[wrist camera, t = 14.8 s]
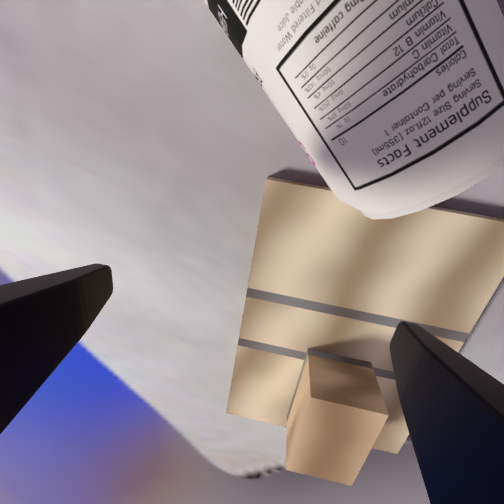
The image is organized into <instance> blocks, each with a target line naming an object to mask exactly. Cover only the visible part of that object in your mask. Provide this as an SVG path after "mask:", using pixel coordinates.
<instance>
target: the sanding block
mask: <svg viewBox="0 0 504 504" xmlns="http://www.w3.org/2000/svg"><path fill="white" fill-rule="evenodd" d="M388 416H389V414H388V411H387V408H386V405H385V402H384V399H383V396H382V393H381V390H380V387H379V384H378V381H377V378H376V375H375V372H374V370H373V367H372V364H371V362H368V361H363V360H359V359H354V358H349V357H345V356H340V355H336V354H331V353H326V352H322V351H317V350H313V349H307V352H306V355H305V359H304V362H303V365H302V368H301V372H300V375H299V378H298V381H297V385H296V388H295V391H294V395H293V398H292V401H291V404H290V408H289V411H288V414H287V443H286V470H289V471H294V472H298V473H302V474H306V475H310V476H314V477H318V478H322V479H326V480H330V481H334V482H338V483H342V484H346V485H350V486H352V484H353V482H354V480H355V478H356V476H357V475H358V473H359V471H360V469H361V467H362V465H363V463H364V461H365V460H366V458H367V455H368V454H369V452H370V450H371V448H372V446H373V444H374V443H375V441H376V439H377V437H378V435H379V433H380V431H381V429H382V428H383V426H384V424H385V422H386V420H387V418H388Z"/></svg>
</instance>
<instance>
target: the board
mask: <svg viewBox="0 0 504 504" xmlns="http://www.w3.org/2000/svg"><path fill="white" fill-rule="evenodd" d="M503 277H504V219H502V218H497V217H491V216H486V215H480V214H474V213H469V212H463V211H458V210H452V209H447V208H441V207H435V206H431V207H428V208H426V209H423V210H421V211H418V212H414V213H411V214H407V215H403V216H400V217H396V218H392V219H374V220H373V219H371V218H368V217H366V216H364V215H363V214H362V212H361V211H360V210H358V209H356V208H354V207H352V206H350V205H348V204H346V203H344V202H342V201H340V200H338V199H337V198H336V196H335V195H334V193H333V192H332V190H331V189H330V188H329V187H324V186H318V185H313V184H307V183H301V182H296V181H290V180H285V179H279V178H274V177H267V179H266V184H265V190H264V195H263V201H262V207H261V213H260V219H259V225H258V230H257V236H256V242H255V248H254V254H253V260H252V266H251V271H250V277H249V283H248V289H247V295H246V301H245V307H244V312H243V318H242V324H241V330H240V336H239V342H238V347H237V353H236V359H235V365H234V371H233V377H232V383H231V388H230V394H229V400H228V406H227V412H226V413H228V414H232V415H236V416H240V417H244V418H249V419H253V420H257V421H261V422H265V423H270V424H274V425H278V426H282V427H286V428H287V414H288V411H289V408H290V404H291V401H292V398H293V395H294V391H295V388H296V385H297V381H298V378H299V375H300V372H301V368H302V365H303V362H304V359H305V355H306V352H307V349H313V350H317V351H322V352H326V353H331V354H336V355H340V356H345V357H349V358H354V359H359V360H363V361H368V362H371V364H372V367H373V370H374V372H375V375H376V378H377V381H378V384H379V387H380V390H381V393H382V396H383V399H384V402H385V405H386V408H387V411H388V414H389V416H388V418H387V420H386V422H385V424H384V426H383V428H382V429H381V431H380V433H379V435H378V437H377V439H376V441H375V443H374V444H373V446H372V448H375V449H379V450H383V451H388V452H392V453H396V454H397V453H398V452H399V450H400V449H401V447H402V445H403V444H404V442H405V440H406V439H407V437H408V435H409V431H408V428H407V425H406V421H405V418H404V415H403V411H402V408H401V404H400V401H399V397H398V392H397V387H396V382H395V376H394V371H393V366H392V360H391V355H390V348H389V347H390V342H391V339H392V337H393V334H394V332H395V330H396V327H397V325H398V323H399V322H401V321H407V322H413V323H416V324H418V325H419V326H421V327H422V328H424V329H425V330H426V331H428V332H429V333H431V334H432V335H434V336H435V337H436V338H438V339H439V340H441V341H442V342H444V343H445V344H446V345H448V346H449V347H451V348H452V349H454V350H455V351H456V352H459V350H460V348H461V347H462V345H463V343H464V342H465V340H466V338H467V337H468V335H469V333H470V332H471V330H472V328H473V327H474V325H475V323H476V322H477V320H478V318H479V317H480V315H481V313H482V312H483V310H484V308H485V307H486V305H487V303H488V302H489V300H490V298H491V297H492V295H493V293H494V292H495V290H496V288H497V287H498V285H499V283H500V282H501V280H502V278H503Z"/></svg>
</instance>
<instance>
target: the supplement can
mask: <svg viewBox="0 0 504 504" xmlns="http://www.w3.org/2000/svg"><path fill="white" fill-rule="evenodd" d="M204 2H205V3H206V4H207V6H208V7H209V9H210V10H211V12H212V13H213V15H214V16H215V18H216V19H217V21H218V22H219V24H220V25H221V27H222V28H223V30H224V31H225V33H226V34H227V36H228V37H229V39H230V40H231V42H232V43H233V45H234V46H235V48H236V49H237V51H238V52H239V54H240V55H241V57H242V58H243V60H244V61H245V63H246V64H247V65H248V67H249V68H250V70H251V71H252V73H253V74H254V76H255V77H256V79H257V80H258V82H259V83H260V85H261V86H262V88H263V89H264V91H265V92H266V94H267V95H268V97H269V98H270V100H271V101H272V103H273V104H274V106H275V107H276V109H277V110H278V112H279V113H280V115H281V116H282V118H283V119H284V121H285V122H286V124H287V125H288V126H289V128H290V129H291V131H292V132H293V134H294V135H295V137H296V138H297V140H298V141H299V143H300V144H301V146H302V147H303V149H304V150H305V152H306V153H307V155H308V156H309V158H310V159H311V161H312V162H313V164H314V165H315V167H316V168H317V170H318V171H319V173H320V174H321V176H322V177H323V179H324V180H325V182H326V183H327V185H328V186H329V187H330V189H331V190H332V192H333V193H334V195H335V196H336V198H337V199H338V200H340V201H342V202H344V203H346V204H348V205H350V206H352V207H354V208H356V209H358V210H360V211H361V212H362V214H363V215H364V216H366V217H368V218H371V219H373V220H374V219H392V218H396V217H400V216H403V215H407V214H411V213H414V212H418V211H421V210H423V209H426V208H428V207H431V206H433V205H435V204H438V203H440V202H442V201H445V200H447V199H449V198H452V197H454V196H456V195H458V194H459V193H461V192H463V191H465V190H466V189H468V188H470V187H472V186H473V185H475V184H477V183H478V182H480V181H482V180H484V179H485V178H487V177H489V176H490V175H491V174H493V173H494V172H495V171H496V170H498V169H499V168H500V167H501V166H503V165H504V17H503V14H502V12H501V10H500V7H499V5H498V2H497V0H204Z"/></svg>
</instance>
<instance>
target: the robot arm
mask: <svg viewBox="0 0 504 504" xmlns="http://www.w3.org/2000/svg"><path fill="white" fill-rule="evenodd" d="M112 292H113V282H112V271H111V268H110V267H109V266H107V265H103V264H92V265H87V266H83V267H79V268H74V269H70V270H65V271H61V272H56V273H52V274H48V275H43V276H39V277H34V278H30V279H26V280H21V281H17V282H12V283H8V284H3V285H0V434H1V433H2V432H3V430H4V429H5V428H6V427H7V426H8V425H9V423H10V422H11V421H12V420H13V419H14V417H15V416H16V415H17V414H18V413H19V411H20V410H21V409H22V408H23V407H24V406H25V404H26V403H27V402H28V401H29V400H30V398H31V397H32V396H33V395H34V394H35V392H36V391H37V390H38V389H39V388H40V386H41V385H42V384H43V383H44V382H45V380H46V379H47V378H48V377H49V376H50V375H51V373H52V372H53V371H54V370H55V369H56V367H57V366H58V365H59V364H60V363H61V361H62V360H63V359H64V358H65V357H66V355H67V354H68V353H69V352H70V351H71V350H72V348H73V347H74V346H75V345H76V344H77V343H78V341H79V340H80V339H81V338H82V336H83V335H84V334H85V333H86V331H87V330H88V328H89V327H90V326H91V324H92V323H93V321H94V320H95V318H96V317H97V315H98V314H99V312H100V311H101V310H102V308H103V307H104V305H105V304H106V302H107V301H108V299H109V298H110V296H111V294H112ZM389 348H390V355H391V360H392V366H393V371H394V376H395V382H396V387H397V392H398V397H399V401H400V404H401V408H402V411H403V415H404V418H405V421H406V425H407V428H408V431H409V434H410V438H411V441H412V444H413V447H414V451H415V454H416V457H417V461H418V464H419V467H420V470H421V474H422V477H423V480H424V483H425V487H426V490H427V493H428V497H429V500H430V503H431V504H504V384H502V383H501V382H499V381H498V380H496V379H495V378H494V377H492V376H491V375H489V374H488V373H486V372H485V371H484V370H482V369H481V368H479V367H478V366H476V365H475V364H474V363H472V362H471V361H469V360H468V359H466V358H465V357H464V356H462V355H461V354H459V353H458V352H456V351H455V350H454V349H452V348H451V347H449V346H448V345H446V344H445V343H444V342H442V341H441V340H439V339H438V338H436V337H435V336H434V335H432V334H431V333H429V332H428V331H426V330H425V329H424V328H422V327H421V326H419V325H418V324H416V323H413V322H407V321H401V322H399V323H398V325H397V327H396V330H395V332H394V334H393V337H392V339H391V342H390V347H389Z"/></svg>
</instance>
